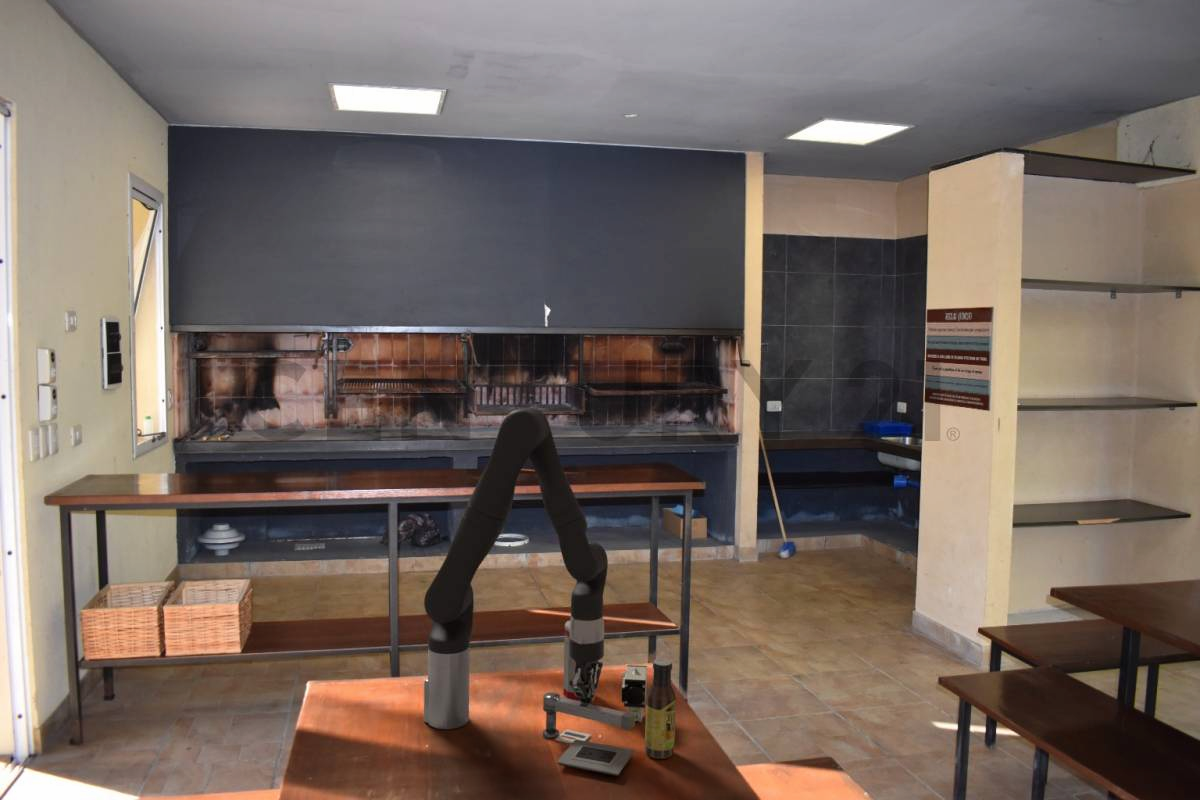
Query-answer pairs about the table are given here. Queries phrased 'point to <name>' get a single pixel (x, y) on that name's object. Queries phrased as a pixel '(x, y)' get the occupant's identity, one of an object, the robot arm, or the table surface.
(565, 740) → the label plate
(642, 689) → the pneumatic valve
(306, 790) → the table surface
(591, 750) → the electrical outlet
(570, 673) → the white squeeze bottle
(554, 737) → the arm post
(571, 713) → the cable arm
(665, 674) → the sauce bottle
